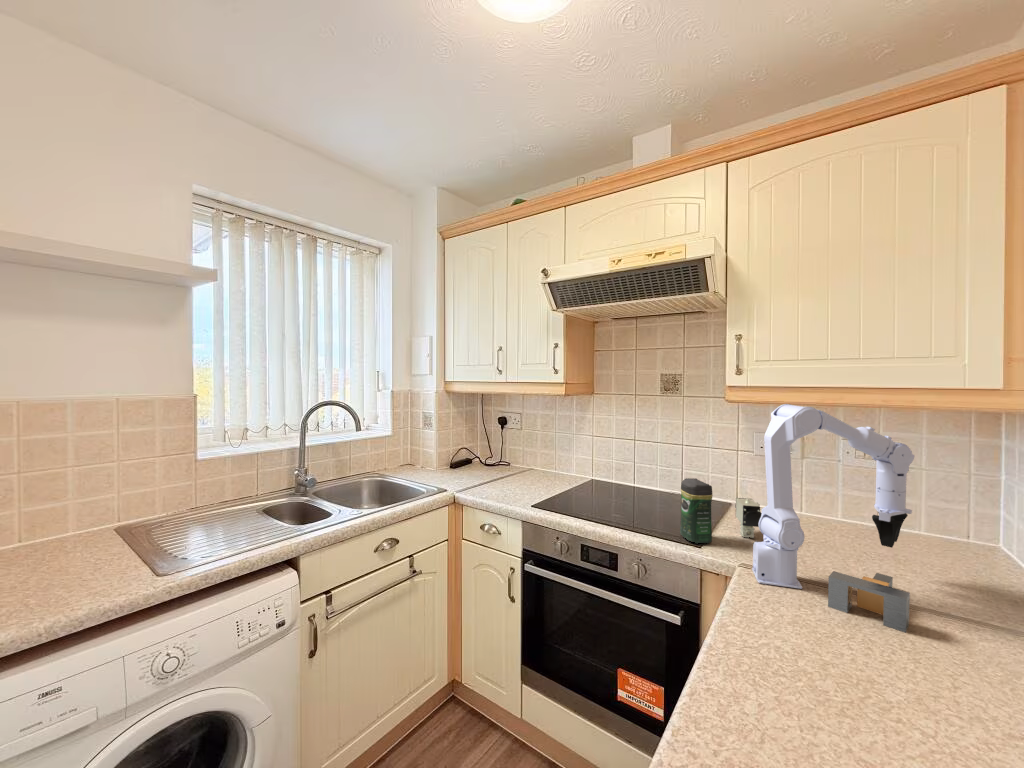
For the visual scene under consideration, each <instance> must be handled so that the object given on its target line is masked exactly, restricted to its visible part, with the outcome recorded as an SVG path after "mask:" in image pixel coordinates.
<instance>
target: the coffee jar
mask: <svg viewBox="0 0 1024 768" xmlns="http://www.w3.org/2000/svg"><path fill="white" fill-rule="evenodd" d="M680 485H681V486H680V496H681V505H680V506H681V509H680V527H679V533H680V534H679V535H680V536H681V535H682V536H683V537H684V538H683V537H682V536H681V537H682V538H683V539H685V538H686V539H687V540H689V541H692V542H695V543H694V544H698V543H707V544H710V543H711V542H712V541H713V534H712V533H713V531H712V530H713V529H712V528H713V527H712V503H713V502H712V500H713V487H712V485H710V484H708V483H706V482H704V481H702V480H700V479H698V478H695V477H692V478H684V479H683V480H681V484H680ZM686 539H685V540H686ZM687 540H686V541H687ZM689 541H688V542H689Z"/></svg>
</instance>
